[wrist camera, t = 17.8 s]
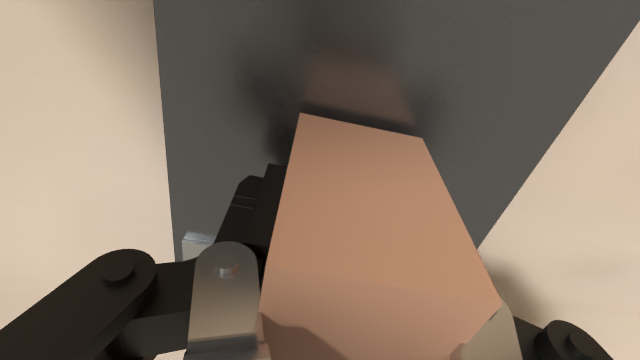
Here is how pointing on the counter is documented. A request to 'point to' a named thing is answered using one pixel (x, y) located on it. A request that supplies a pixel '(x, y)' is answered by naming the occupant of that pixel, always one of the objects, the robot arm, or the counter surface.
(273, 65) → the press bed
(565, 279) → the counter surface
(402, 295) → the block
